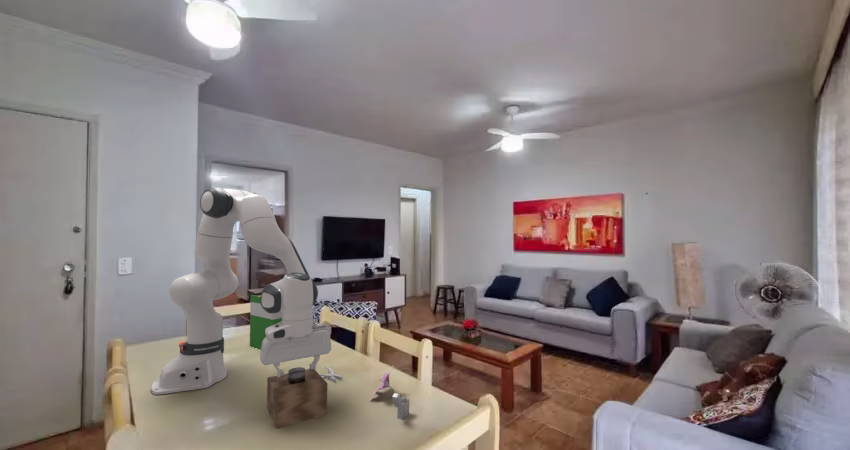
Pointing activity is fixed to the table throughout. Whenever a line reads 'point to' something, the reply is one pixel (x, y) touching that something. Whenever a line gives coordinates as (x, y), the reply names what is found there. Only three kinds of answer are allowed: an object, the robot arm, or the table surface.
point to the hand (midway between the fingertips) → (296, 373)
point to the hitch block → (296, 398)
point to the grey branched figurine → (331, 375)
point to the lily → (384, 382)
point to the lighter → (401, 405)
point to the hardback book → (260, 321)
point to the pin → (296, 375)
